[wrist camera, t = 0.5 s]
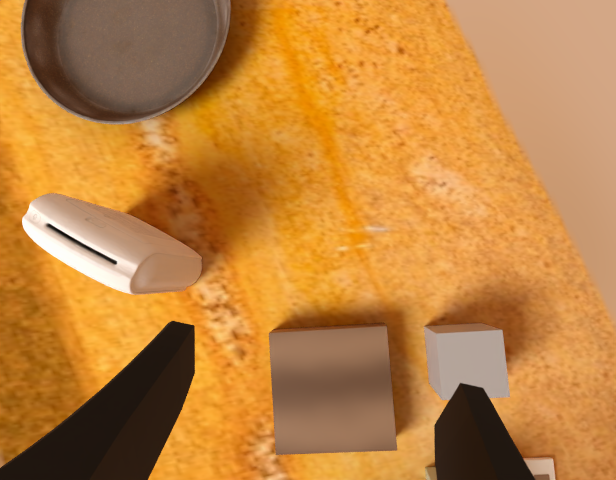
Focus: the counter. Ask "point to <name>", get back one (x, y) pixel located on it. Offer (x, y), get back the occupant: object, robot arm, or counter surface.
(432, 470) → the sage cube
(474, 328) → the grey cube
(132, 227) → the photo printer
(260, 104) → the counter surface
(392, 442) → the walnut slab
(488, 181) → the counter surface
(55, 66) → the plant saucer
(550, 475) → the card
